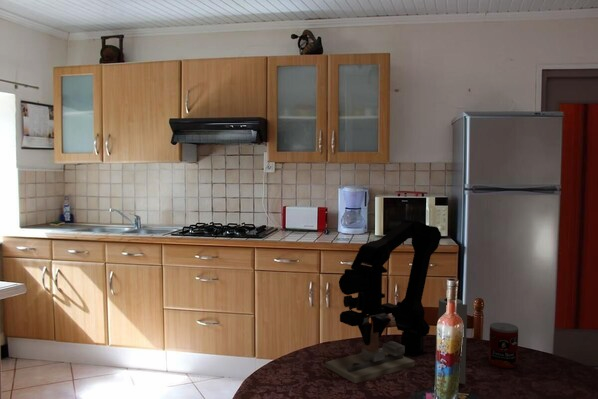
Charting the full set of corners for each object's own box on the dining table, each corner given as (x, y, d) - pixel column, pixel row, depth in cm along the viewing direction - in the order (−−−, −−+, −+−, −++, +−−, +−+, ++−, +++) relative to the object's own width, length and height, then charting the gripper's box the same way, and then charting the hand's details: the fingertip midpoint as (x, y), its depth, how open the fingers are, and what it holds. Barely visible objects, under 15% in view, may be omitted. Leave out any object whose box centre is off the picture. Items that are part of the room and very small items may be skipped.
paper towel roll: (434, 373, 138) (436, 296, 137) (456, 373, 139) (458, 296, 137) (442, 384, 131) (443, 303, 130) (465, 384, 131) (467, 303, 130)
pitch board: (383, 352, 155) (383, 335, 154) (414, 366, 144) (415, 348, 144) (325, 367, 143) (325, 349, 142) (355, 383, 132) (355, 364, 131)
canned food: (488, 366, 144) (489, 328, 143) (489, 357, 151) (490, 321, 151) (517, 370, 141) (518, 332, 140) (516, 360, 148) (518, 324, 148)
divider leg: (372, 357, 146) (372, 328, 145) (384, 362, 141) (385, 333, 141) (361, 360, 143) (362, 331, 143) (373, 365, 139) (374, 336, 139)
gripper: (376, 280, 154) (376, 330, 155) (327, 288, 144) (327, 341, 144) (403, 287, 145) (402, 341, 146) (353, 296, 134) (352, 353, 135)
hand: (370, 344), depth 143 cm, fingers closed on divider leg, 3 cm apart
